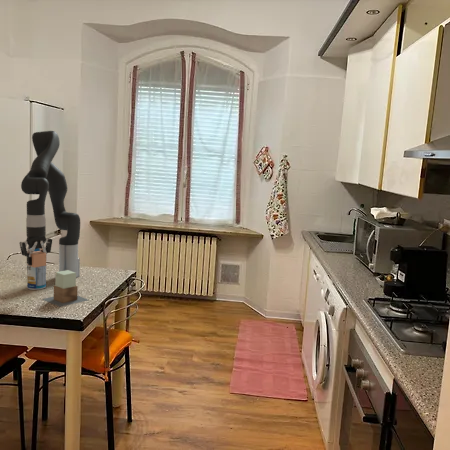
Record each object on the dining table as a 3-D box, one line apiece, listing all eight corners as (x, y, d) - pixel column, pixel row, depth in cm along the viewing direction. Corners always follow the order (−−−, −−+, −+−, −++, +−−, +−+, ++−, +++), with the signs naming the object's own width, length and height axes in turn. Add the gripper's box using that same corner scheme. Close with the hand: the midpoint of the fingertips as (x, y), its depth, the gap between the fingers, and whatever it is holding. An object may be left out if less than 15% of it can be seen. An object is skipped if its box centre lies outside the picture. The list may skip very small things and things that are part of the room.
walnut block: (68, 296, 204) (68, 282, 204) (77, 299, 200) (77, 286, 199) (53, 299, 199) (53, 285, 198) (62, 303, 195) (63, 289, 194)
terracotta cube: (39, 263, 201) (39, 250, 201) (46, 265, 198) (46, 252, 197) (27, 265, 197) (27, 252, 196) (34, 267, 194) (34, 254, 193)
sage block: (67, 283, 203) (67, 270, 202) (75, 286, 199) (75, 272, 198) (55, 285, 198) (55, 272, 197) (63, 288, 195) (63, 274, 194)
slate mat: (70, 293, 209) (70, 292, 209) (89, 300, 201) (89, 299, 201) (41, 300, 198) (41, 299, 198) (60, 307, 190) (60, 306, 190)
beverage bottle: (45, 290, 213) (45, 247, 210) (25, 290, 210) (25, 247, 208) (47, 285, 221) (47, 244, 218) (28, 285, 218) (27, 244, 216)
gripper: (46, 222, 203) (47, 259, 205) (14, 225, 191) (15, 265, 194) (56, 224, 198) (56, 262, 201) (24, 227, 187) (25, 268, 190)
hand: (36, 263), depth 197 cm, fingers closed on terracotta cube, 5 cm apart
